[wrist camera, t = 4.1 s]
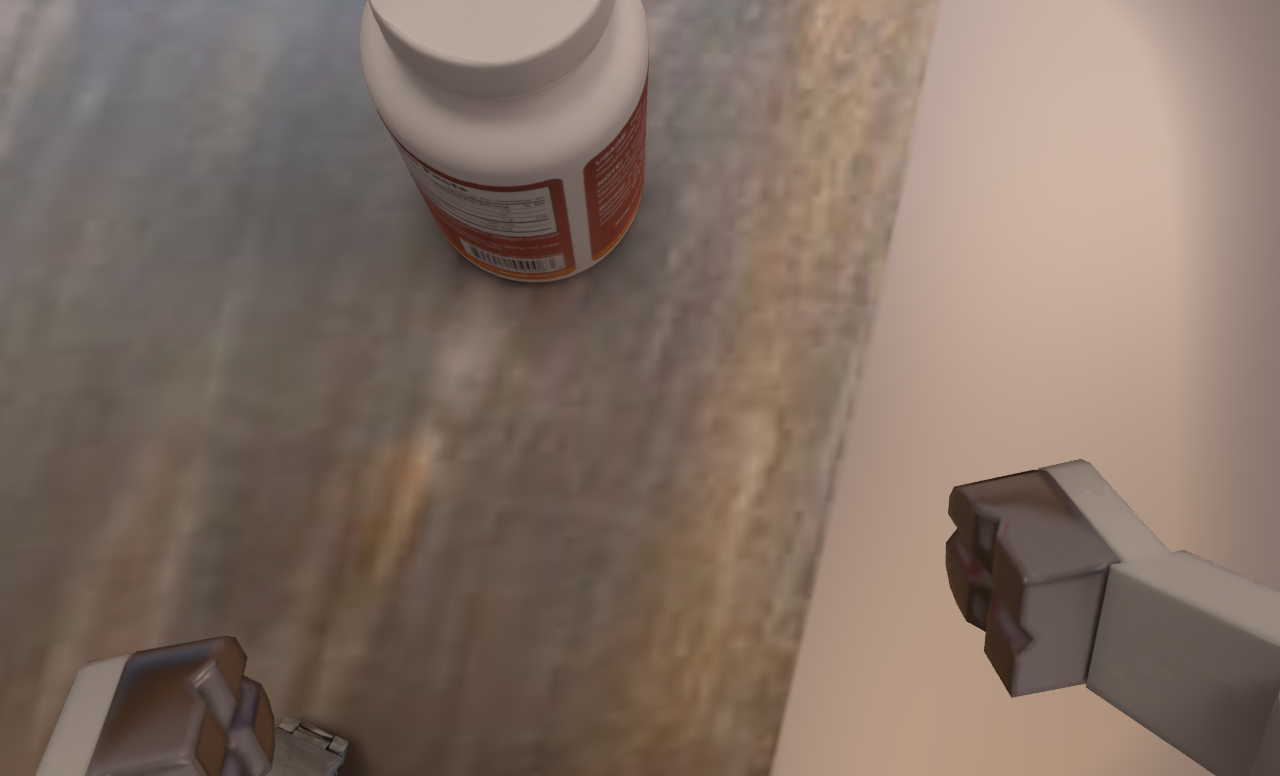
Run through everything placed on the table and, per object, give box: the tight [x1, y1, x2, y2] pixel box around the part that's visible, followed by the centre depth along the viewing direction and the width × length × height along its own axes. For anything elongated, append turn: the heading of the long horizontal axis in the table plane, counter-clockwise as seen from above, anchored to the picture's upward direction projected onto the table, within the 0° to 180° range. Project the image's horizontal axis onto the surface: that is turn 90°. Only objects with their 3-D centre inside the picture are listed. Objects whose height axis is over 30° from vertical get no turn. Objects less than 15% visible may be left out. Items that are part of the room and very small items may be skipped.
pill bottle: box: [359, 0, 649, 282], centre depth 23 cm, size 6×6×11 cm
